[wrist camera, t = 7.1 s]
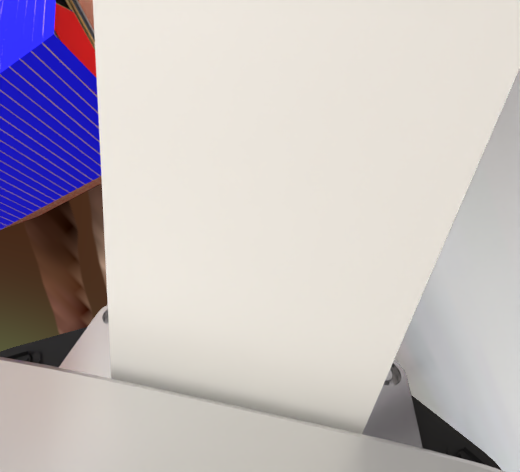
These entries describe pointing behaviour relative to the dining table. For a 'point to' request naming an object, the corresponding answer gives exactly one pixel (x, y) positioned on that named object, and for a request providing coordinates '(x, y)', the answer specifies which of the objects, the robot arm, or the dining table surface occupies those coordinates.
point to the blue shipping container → (46, 106)
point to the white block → (286, 186)
